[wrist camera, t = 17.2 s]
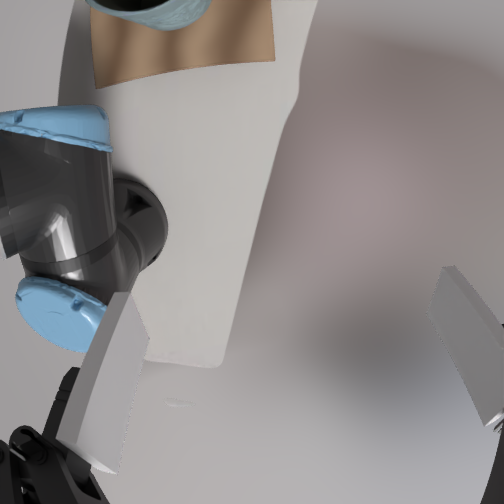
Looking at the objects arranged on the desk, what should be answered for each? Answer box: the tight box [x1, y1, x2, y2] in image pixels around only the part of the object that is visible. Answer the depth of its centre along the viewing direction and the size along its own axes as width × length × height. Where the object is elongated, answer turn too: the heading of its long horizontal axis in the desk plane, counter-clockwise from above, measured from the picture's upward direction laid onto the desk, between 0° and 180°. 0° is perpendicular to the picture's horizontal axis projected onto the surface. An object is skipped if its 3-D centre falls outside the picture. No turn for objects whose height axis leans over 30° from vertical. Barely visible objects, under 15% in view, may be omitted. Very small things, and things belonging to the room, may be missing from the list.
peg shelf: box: [90, 0, 275, 89], centre depth 25 cm, size 20×18×8 cm
